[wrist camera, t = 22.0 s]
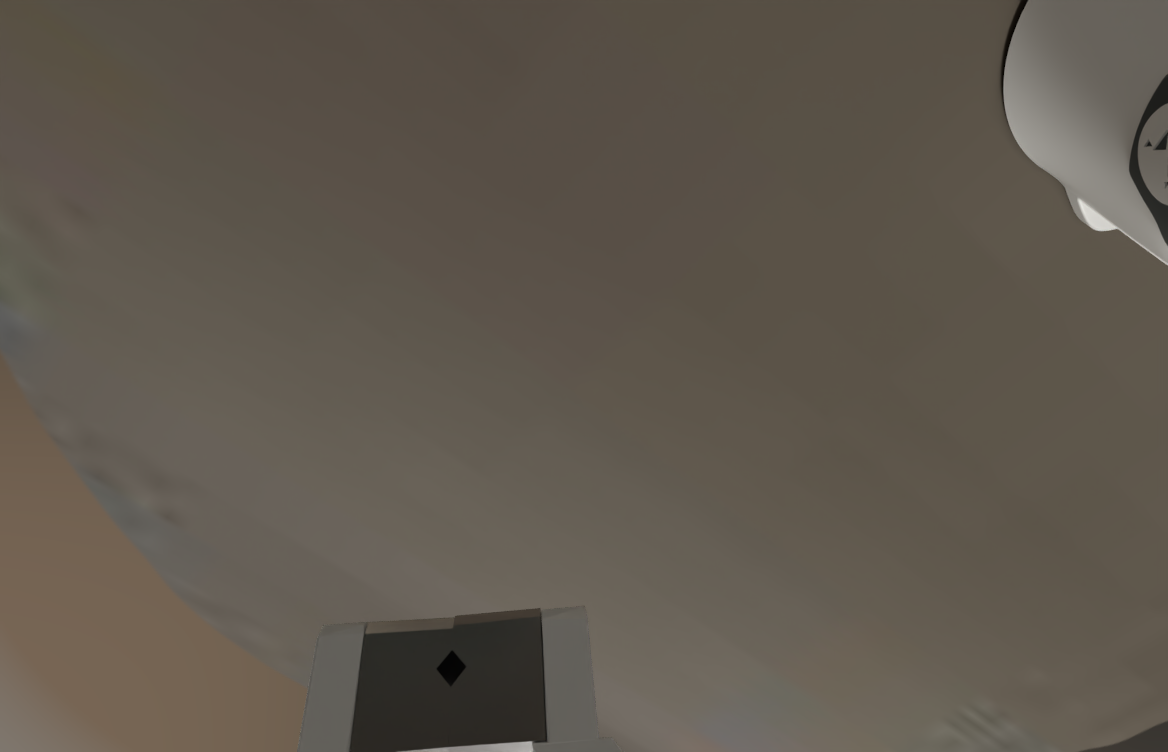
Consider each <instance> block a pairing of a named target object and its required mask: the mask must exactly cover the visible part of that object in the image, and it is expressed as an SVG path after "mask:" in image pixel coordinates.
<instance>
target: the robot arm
mask: <svg viewBox="0 0 1168 752" xmlns="http://www.w3.org/2000/svg"><path fill="white" fill-rule="evenodd" d="M1003 93H1004V105H1005V111H1006V115H1007V119H1008V123H1009V126H1010V128H1011V131H1012V133H1013V135H1014V137H1015V139H1016V141H1017V143H1018V144H1019V146H1020V147H1021V149H1022V150H1023V151H1024V152H1025V154H1026V155H1027V156H1028V157H1029V158H1030V159H1031V160H1032V161H1033V162H1034V163H1036V164H1037V165H1038V166H1039V167H1041V168H1042V169H1044V170H1045V171H1046V172H1048V173H1049V174H1051V175H1052V176H1054V177H1055V178H1056V179H1057V180H1059V181H1060V182H1061V183H1062V185H1063V186H1064V187H1065V190H1066V192H1067V195H1068V198H1069V200H1070V203H1071V206H1072V208H1073V210H1074V212H1075V214H1076V215H1077V217H1078V218H1079V219H1080V220H1081V221H1083V222H1084V223H1085V224H1087V225H1088V226H1089V227H1091V228H1092V229H1094V230H1097V231H1108V230H1113V229H1119V230H1120V231H1121V232H1123V233H1124V234H1125V235H1127V236H1128V237H1129V238H1131V239H1132V240H1133V241H1135V242H1136V243H1138V244H1139V245H1140V246H1142V247H1143V248H1144V249H1146V250H1147V251H1149V252H1150V253H1151V254H1153V255H1154V256H1155V257H1157V258H1158V259H1159V260H1161V261H1162V262H1164V263H1165V264H1166V265H1168V0H1028V2H1027V4H1026V6H1025V8H1024V10H1023V12H1022V14H1021V16H1020V18H1019V21H1018V23H1017V25H1016V28H1015V31H1014V34H1013V36H1012V40H1011V43H1010V46H1009V50H1008V54H1007V59H1006V65H1005V71H1004V87H1003ZM541 617H542V622H541ZM297 752H623V750H622V749H621V748H620V747H619V745H618V744H617V743H616V742H615V740H614V739H613V738H612V737H608V738H599V733H598V722H597V712H596V701H595V691H594V680H593V670H592V659H591V649H590V638H589V628H588V617H587V612H586V609H585V606H576V607H565V608H554V609H543V610H542V611H541V610H540V608H538V609H526V610H515V611H504V612H493V613H481V614H470V615H459V616H455V617H453V618H435V619H416V620H398V621H379V622H358V623H344V624H330V625H323V627H322V629H321V631H320V633H319V636H318V638H317V641H316V647H315V652H314V658H313V664H312V669H311V675H310V681H309V686H308V692H307V698H306V704H305V710H304V715H303V721H302V727H301V733H300V738H299V744H298V749H297Z"/></svg>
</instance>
